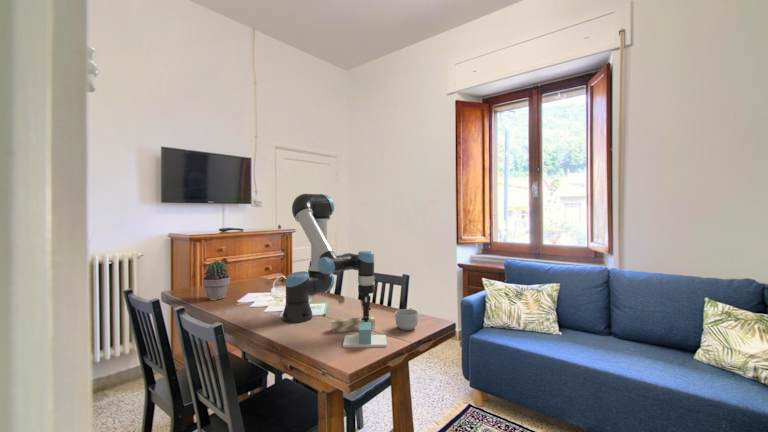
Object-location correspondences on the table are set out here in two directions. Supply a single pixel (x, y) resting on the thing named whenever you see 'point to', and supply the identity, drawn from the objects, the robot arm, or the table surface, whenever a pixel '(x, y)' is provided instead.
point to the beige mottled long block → (349, 324)
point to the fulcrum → (365, 338)
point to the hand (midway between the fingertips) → (366, 328)
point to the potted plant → (216, 280)
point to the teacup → (406, 319)
